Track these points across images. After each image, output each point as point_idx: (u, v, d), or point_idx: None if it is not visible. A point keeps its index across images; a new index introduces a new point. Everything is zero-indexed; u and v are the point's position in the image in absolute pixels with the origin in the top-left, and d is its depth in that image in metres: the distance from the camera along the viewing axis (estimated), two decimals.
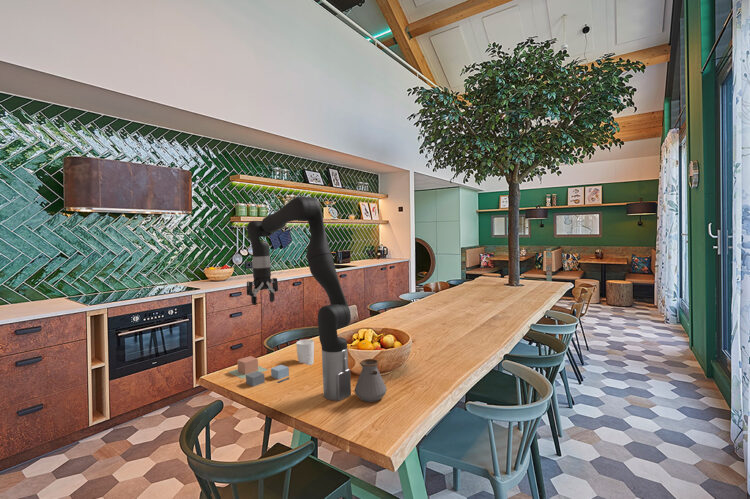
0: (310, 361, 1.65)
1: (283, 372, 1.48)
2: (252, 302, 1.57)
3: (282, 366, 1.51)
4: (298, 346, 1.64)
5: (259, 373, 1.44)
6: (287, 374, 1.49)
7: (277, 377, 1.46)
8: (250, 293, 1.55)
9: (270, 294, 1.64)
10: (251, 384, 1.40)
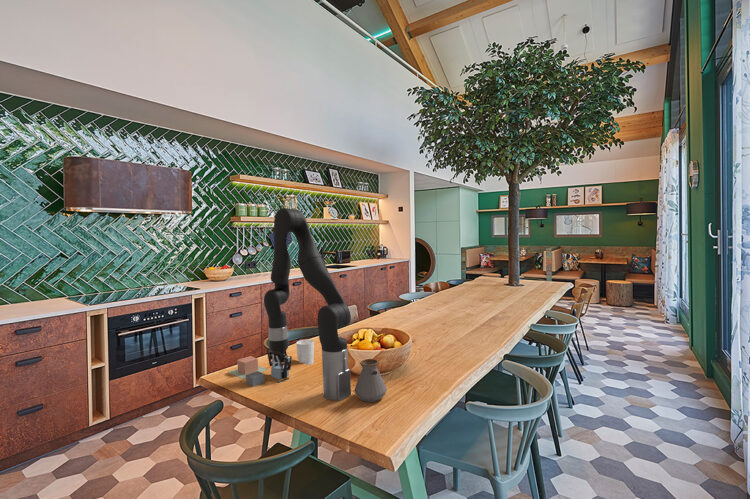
0: (310, 361, 1.65)
1: None
2: None
3: None
4: (298, 346, 1.64)
5: (259, 373, 1.44)
6: (287, 374, 1.49)
7: (277, 377, 1.46)
8: None
9: None
10: (251, 384, 1.40)
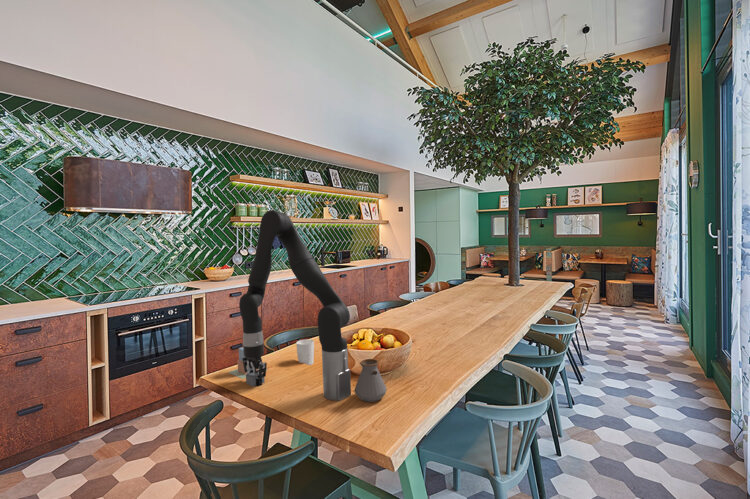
0: (310, 361, 1.65)
1: None
2: (260, 385, 1.41)
3: None
4: (298, 346, 1.64)
5: None
6: None
7: (244, 356, 1.53)
8: None
9: None
10: (251, 384, 1.40)
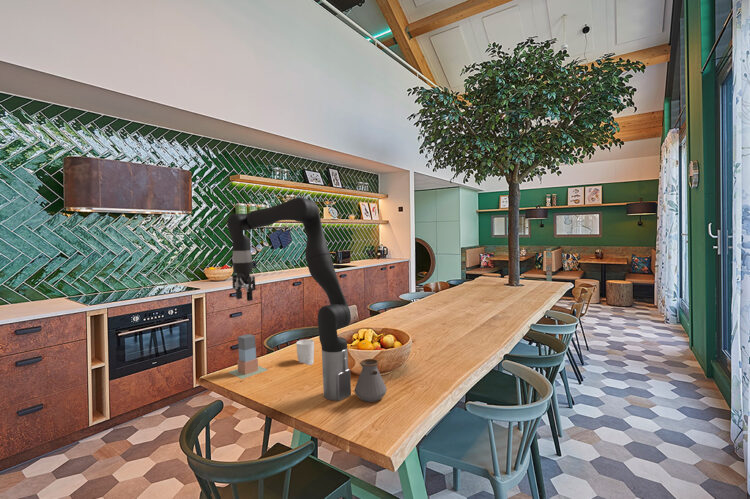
0: (310, 361, 1.65)
1: (250, 351, 1.54)
2: (250, 298, 1.51)
3: None
4: (298, 346, 1.64)
5: (250, 335, 1.56)
6: (254, 354, 1.55)
7: (244, 356, 1.53)
8: None
9: (238, 291, 1.57)
10: (243, 344, 1.53)
